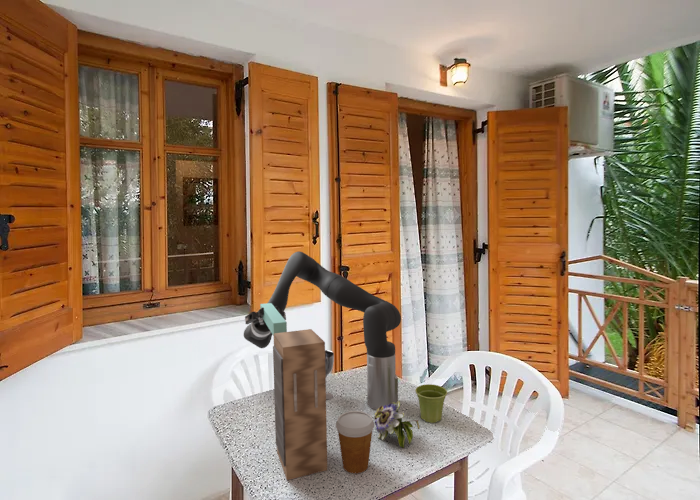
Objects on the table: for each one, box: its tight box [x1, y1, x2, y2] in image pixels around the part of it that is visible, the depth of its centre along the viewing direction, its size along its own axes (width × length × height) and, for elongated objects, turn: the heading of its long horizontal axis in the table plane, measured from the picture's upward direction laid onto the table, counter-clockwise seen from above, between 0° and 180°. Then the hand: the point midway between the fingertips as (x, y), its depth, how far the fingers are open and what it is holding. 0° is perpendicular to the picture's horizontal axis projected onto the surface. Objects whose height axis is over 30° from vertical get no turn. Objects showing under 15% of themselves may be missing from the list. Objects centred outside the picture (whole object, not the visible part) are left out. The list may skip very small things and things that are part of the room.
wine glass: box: [325, 349, 335, 402], centre depth 138 cm, size 8×8×15 cm
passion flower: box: [373, 400, 421, 449], centre depth 112 cm, size 11×11×12 cm
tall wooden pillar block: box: [272, 328, 328, 481], centre depth 100 cm, size 10×12×32 cm
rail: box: [259, 302, 288, 337], centre depth 121 cm, size 4×24×4 cm, turn 21°
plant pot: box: [414, 383, 448, 424], centre depth 122 cm, size 9×9×9 cm
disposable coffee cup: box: [335, 410, 375, 474], centre depth 99 cm, size 10×10×12 cm
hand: (269, 310), depth 125 cm, fingers closed on rail, 3 cm apart
